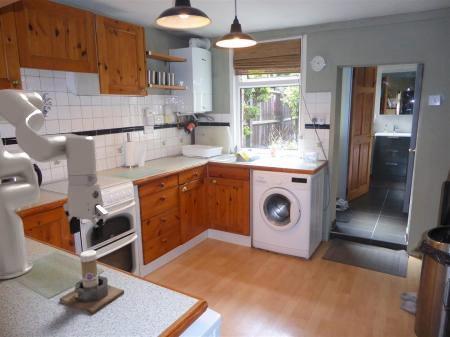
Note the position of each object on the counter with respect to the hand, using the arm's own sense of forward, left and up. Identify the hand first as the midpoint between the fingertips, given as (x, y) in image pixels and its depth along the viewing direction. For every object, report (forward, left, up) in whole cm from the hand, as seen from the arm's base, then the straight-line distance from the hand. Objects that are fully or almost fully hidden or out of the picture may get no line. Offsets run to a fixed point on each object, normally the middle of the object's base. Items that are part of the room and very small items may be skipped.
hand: (86, 235), depth 97 cm
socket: (0, 0, -20) cm, 20 cm away
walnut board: (0, 0, -20) cm, 20 cm away
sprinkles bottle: (0, 0, -19) cm, 19 cm away
